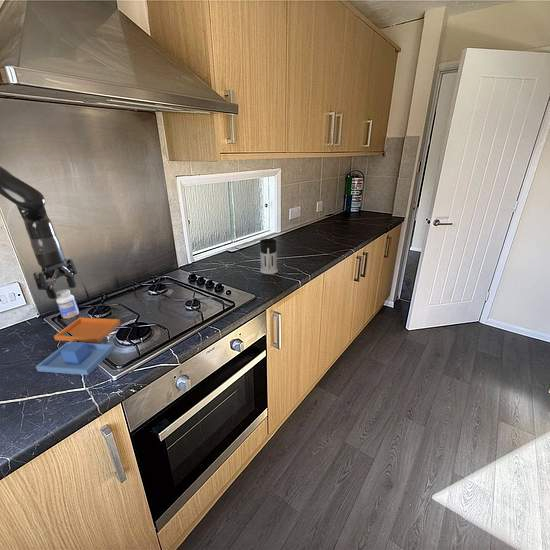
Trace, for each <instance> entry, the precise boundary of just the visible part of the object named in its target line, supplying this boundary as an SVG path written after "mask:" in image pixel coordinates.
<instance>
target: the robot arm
mask: <svg viewBox="0 0 550 550" xmlns="http://www.w3.org/2000/svg"><path fill="white" fill-rule="evenodd" d="M0 195H1V196H2V197H4V198H5V199H6V200H8V201H10V202H11V203H13V204H15V205H16V207H17V210H18V213H19V214H20V217H21V218H22V220H23V223H24V227H25V230H26V233H27V235H28V239H29V241H30V247H31V249H32V252H33V254H34V257H35V259H36V261H37V264H38V266H39V267H40V268H41V271H39V272H33V278H34V281H35V284H36V287H37V289H38V290H39V291H46V295H47V297H48V299H50V300H56V299H57V298H58V297H57V295H56V293H57V292H56V291H55V288H54V284H55V283H56V281H57V280H58V279H59V278H61V277H64V278H66V282H67V285H68V288H70V289H74V288H76V287H77V283H76V279H75V275H77V274H78V270H77V268H76V265H75V263H74V259H72V258H66V257H65V255H64V252H63V251H64V250H63V248H62V245H61V242H60V240H59V238H58V236H57V233H56V231H55V228H54V225H53V223H52V220H51V219H50V218H49V215H48V213H47V210H46V207H45V206H46V197H45V196H44V194H43V193H42V192H40V191H39V190H38V189H37V188H35V187H33V186H31V185H30V184H28V183H27V182H26V181H25V182H24V181H23V180H22V179H20V178H19V177H16V176H14V174H12V173H11V172H9V170H7V169H6V168H5V167H3V166H1V165H0Z"/></svg>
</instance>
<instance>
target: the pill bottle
mask: <svg viewBox="0 0 550 550" xmlns="http://www.w3.org/2000/svg"><path fill="white" fill-rule="evenodd" d="M55 293H56V296H57V298H56V299H55V302H56V304H57V307H58V310H59V313H60V316H61V318H62V317H63V318H62V319H70V318H73V317H77V316H78V315H79V314H80V310H79V308H78V307H79V306H78V304H77V300H76V297H75V295H74V294H71V290H70V289H68V288H67V289H65V288H64V289H60V290H58V291H57V292H55Z"/></svg>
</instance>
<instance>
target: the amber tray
mask: <svg viewBox="0 0 550 550" xmlns="http://www.w3.org/2000/svg"><path fill="white" fill-rule="evenodd" d="M120 325H121V320H120V319H118V318H101V317H99V318H98V317H78V318H77V319H76V320H74V321H73V322H71V323H69V324H68V325H67V326H66V327H64V328H63V329H61V330H60V331H59V332H57V333H55V335H53V338H54V341H64V342H77V341H79V342H86V343H95V344H100V342H102V341H103V340H104V339H105V338H107V336H108V335H110V334H111V333H112V332H113V330H115V329H116V328H117V327H118V326H120ZM67 332H68V333H70V334H72V335H73V336H64V334H65V333H67Z"/></svg>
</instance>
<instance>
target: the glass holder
mask: <svg viewBox="0 0 550 550" xmlns="http://www.w3.org/2000/svg"><path fill="white" fill-rule="evenodd" d="M259 246H260V247H259V249H260V250H259V252H260V253H259V254H260V255H259V257H260V270H259V271H260V273H261V274H264V275H273V274H276V273H278V272H279V268H278V249H277V240H276V239H275V238H263V239H260V240H259Z"/></svg>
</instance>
